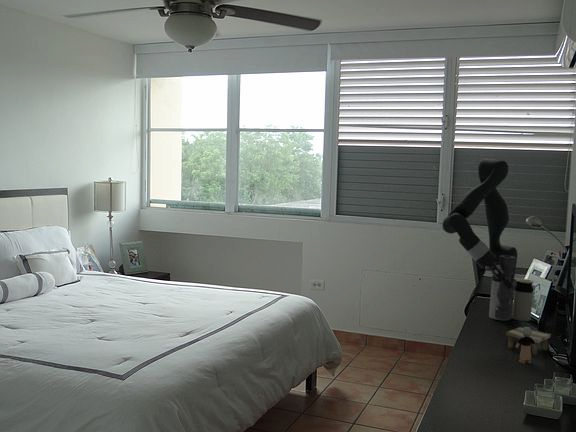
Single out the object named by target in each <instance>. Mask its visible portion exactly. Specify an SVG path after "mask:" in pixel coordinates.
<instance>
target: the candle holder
mask: <svg viewBox="0 0 576 432" xmlns="http://www.w3.org/2000/svg"><path fill="white" fill-rule="evenodd" d="M514 265H515V257H513V256H507V255H502V256H500V266H499V267H500V268H501V269H502V271H503V273H504V275H505V277H507V279H508V280H509V281H510V283H511V275H512V274H513V271H512V269H513V267H514ZM500 272H501V271H500ZM502 277H503V276H501V278H502ZM497 298H498V299H499V300H498V301H499V302H498V303H497V305H496V306H497V308H495V317H496V318H499V319H505V320H508V319H510V320H511V319H512V306H510V304H509V302H510V300H511V299H512V300H513V298H514V293H513V294H512V288H510V289H508V288H507V287H506V286H505V284H504V283H503V282H500V285H499V288H498V291H497ZM510 308H511V309H510ZM508 321H509V320H508Z"/></svg>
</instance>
